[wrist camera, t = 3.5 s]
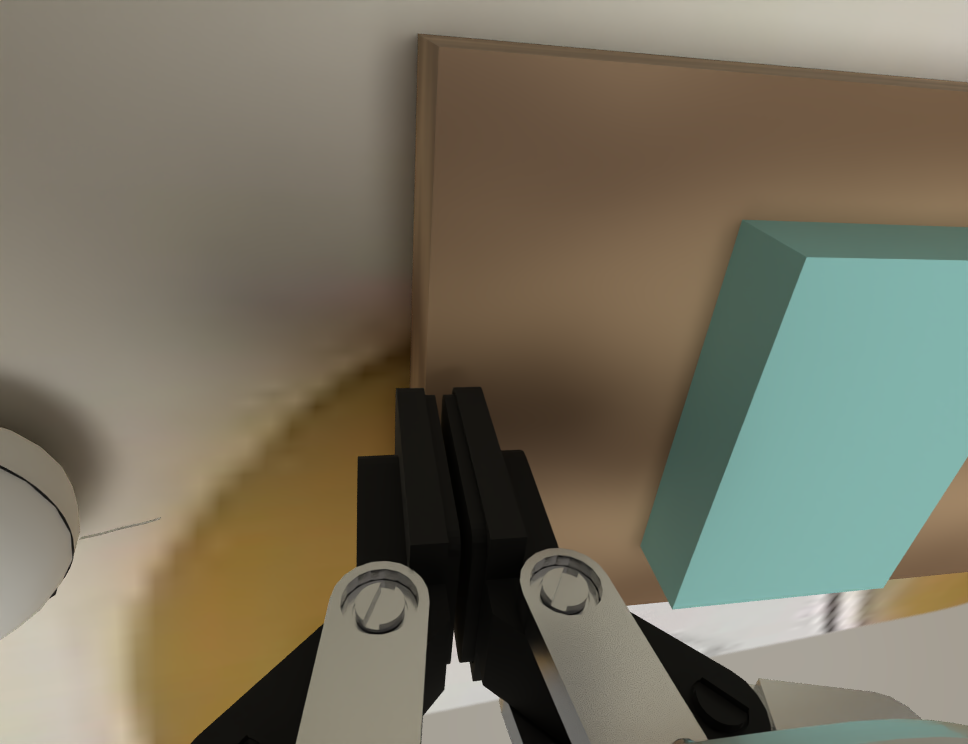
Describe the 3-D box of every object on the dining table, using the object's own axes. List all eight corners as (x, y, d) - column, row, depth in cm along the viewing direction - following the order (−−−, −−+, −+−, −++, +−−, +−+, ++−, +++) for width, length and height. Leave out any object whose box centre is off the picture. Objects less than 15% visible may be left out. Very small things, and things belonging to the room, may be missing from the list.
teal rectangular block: (742, 219, 12) (807, 257, 10) (996, 227, 13) (1093, 262, 11) (640, 546, 16) (672, 609, 15) (832, 531, 17) (883, 587, 16)
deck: (418, 33, 12) (438, 46, 9) (1155, 98, 16) (1360, 125, 13) (406, 520, 20) (416, 626, 16) (918, 486, 23) (1010, 567, 20)
